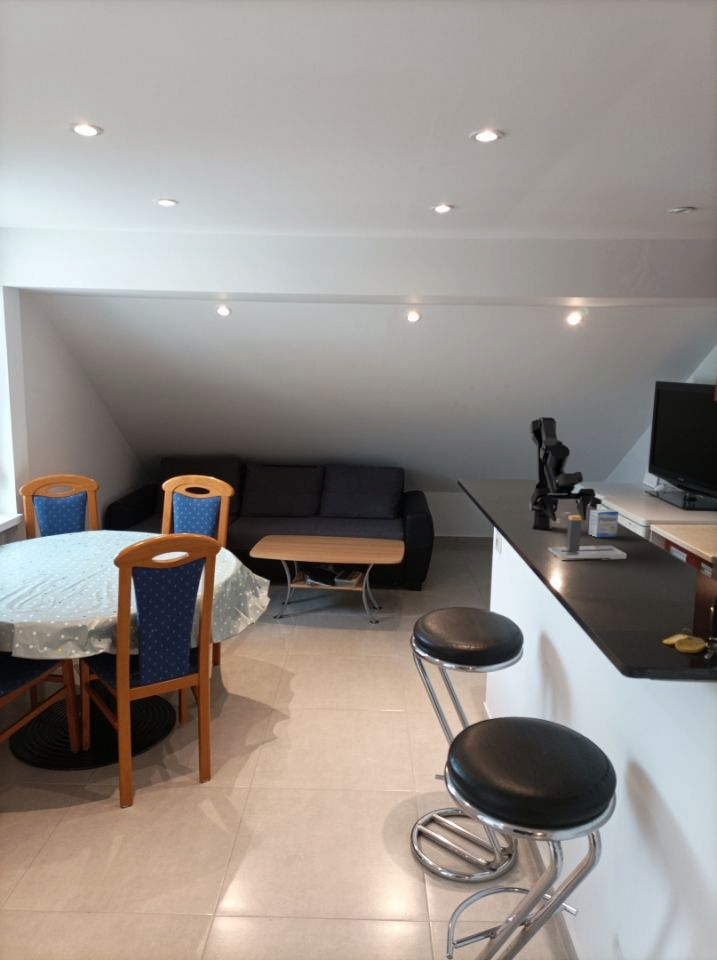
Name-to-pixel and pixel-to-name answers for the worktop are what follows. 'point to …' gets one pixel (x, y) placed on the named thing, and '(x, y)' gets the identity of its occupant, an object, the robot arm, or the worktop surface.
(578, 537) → the fader lever
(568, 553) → the fader console
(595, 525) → the medicine box
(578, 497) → the robot arm
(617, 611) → the worktop surface
